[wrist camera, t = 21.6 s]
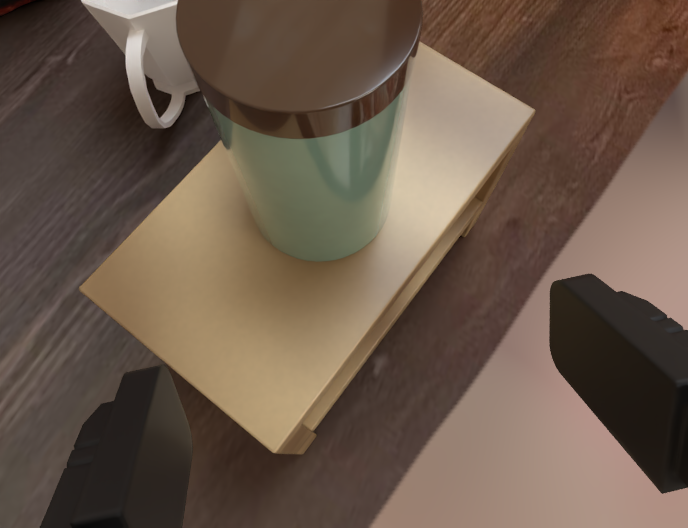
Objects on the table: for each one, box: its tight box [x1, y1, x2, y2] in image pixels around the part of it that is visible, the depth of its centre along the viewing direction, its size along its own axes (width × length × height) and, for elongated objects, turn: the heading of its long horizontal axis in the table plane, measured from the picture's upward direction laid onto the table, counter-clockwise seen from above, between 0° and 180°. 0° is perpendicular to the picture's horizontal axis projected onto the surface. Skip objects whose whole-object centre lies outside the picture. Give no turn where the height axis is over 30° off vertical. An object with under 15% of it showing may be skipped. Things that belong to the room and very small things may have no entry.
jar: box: [176, 0, 423, 262], centre depth 16 cm, size 5×5×9 cm
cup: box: [81, 0, 200, 128], centre depth 31 cm, size 7×10×8 cm
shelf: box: [79, 42, 535, 454], centre depth 25 cm, size 16×9×11 cm, turn 143°
